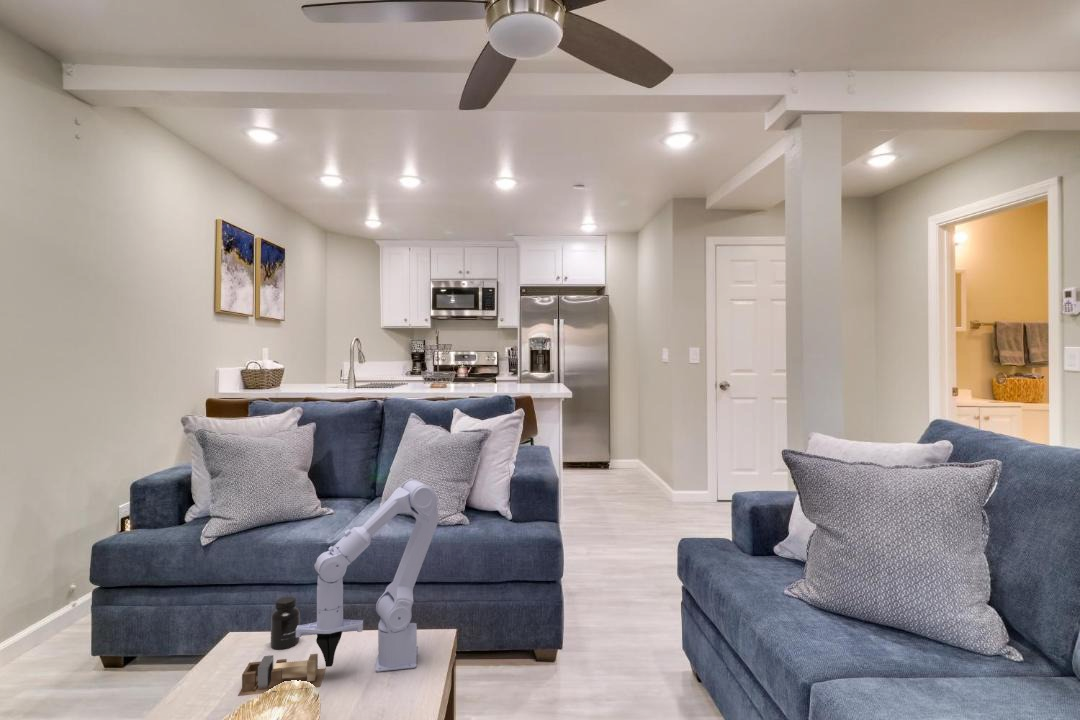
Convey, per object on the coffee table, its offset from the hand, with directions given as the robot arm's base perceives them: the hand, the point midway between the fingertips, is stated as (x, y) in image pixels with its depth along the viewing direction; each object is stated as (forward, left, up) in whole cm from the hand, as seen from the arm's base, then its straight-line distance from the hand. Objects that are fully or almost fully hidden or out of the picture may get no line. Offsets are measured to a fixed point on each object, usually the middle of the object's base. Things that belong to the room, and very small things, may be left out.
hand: (329, 664), depth 130 cm
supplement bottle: (+14, -19, -4) cm, 24 cm away
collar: (+14, 0, -3) cm, 14 cm away
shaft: (+7, 0, -3) cm, 8 cm away
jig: (+10, 0, -4) cm, 11 cm away
